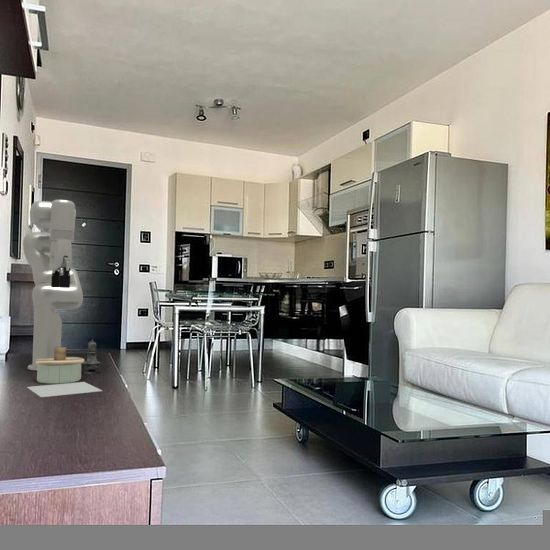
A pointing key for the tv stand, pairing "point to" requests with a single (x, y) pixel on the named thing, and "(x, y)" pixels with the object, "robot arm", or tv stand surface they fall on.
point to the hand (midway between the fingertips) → (60, 287)
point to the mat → (63, 389)
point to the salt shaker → (91, 359)
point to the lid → (59, 359)
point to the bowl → (58, 373)
